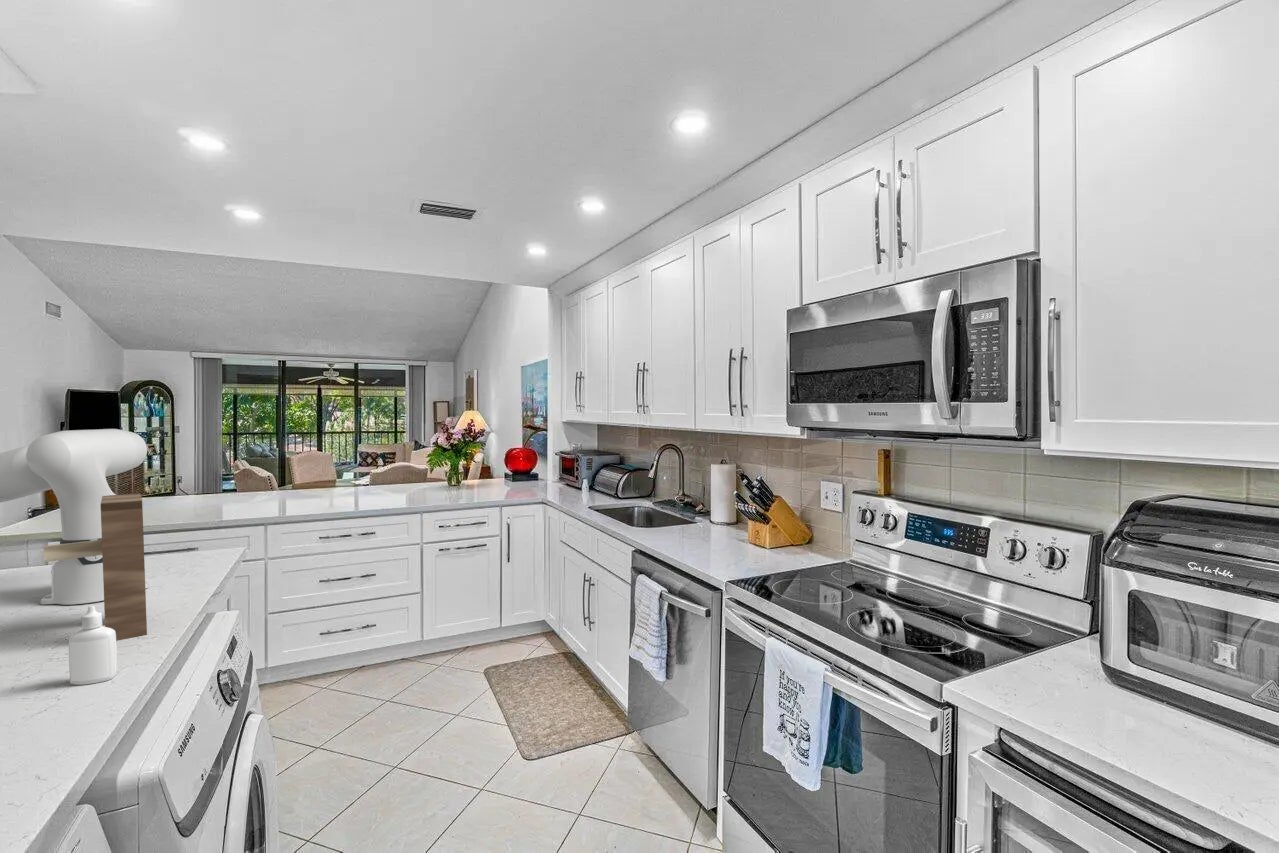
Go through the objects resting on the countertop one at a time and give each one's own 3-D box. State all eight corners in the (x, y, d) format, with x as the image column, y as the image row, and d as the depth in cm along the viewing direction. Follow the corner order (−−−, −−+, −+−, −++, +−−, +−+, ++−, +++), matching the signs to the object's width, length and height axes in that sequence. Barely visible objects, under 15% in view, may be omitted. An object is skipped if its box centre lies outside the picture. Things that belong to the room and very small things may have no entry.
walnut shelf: (106, 622, 124) (102, 496, 124) (144, 616, 128) (140, 493, 127) (105, 642, 114) (100, 503, 113) (146, 634, 118) (142, 500, 117)
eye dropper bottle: (93, 687, 95) (90, 611, 95) (65, 684, 96) (62, 609, 96) (122, 675, 99) (119, 602, 99) (94, 672, 100) (92, 600, 100)
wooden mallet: (46, 556, 116) (45, 535, 116) (141, 545, 125) (140, 526, 125) (42, 564, 110) (41, 542, 110) (142, 552, 119) (141, 531, 119)
